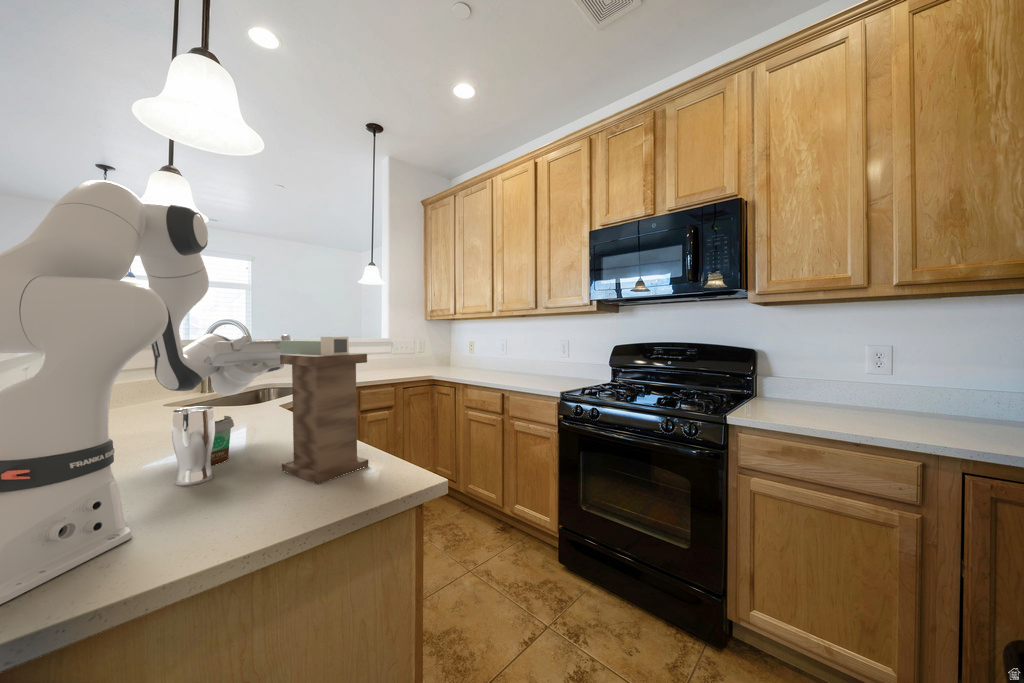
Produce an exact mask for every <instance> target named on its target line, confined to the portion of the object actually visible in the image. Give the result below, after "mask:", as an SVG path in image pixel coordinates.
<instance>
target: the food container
mask: <svg viewBox="0 0 1024 683" xmlns="http://www.w3.org/2000/svg"><path fill="white" fill-rule="evenodd" d="M234 427H235V423H234V419H232V417H231V416H229V415H224V416H223V419H220V420H216V421H215V436H214V442H213V447H212V453H211V467H214V466H217V465H216V464H218V465H220V464H219V463H221V464H223V463H225V462H227V461H228V460H229V457H230V456H229V453H230V443H231V442H230V441H231V433H232V432H231V429H232V428H234ZM227 459H228V460H227ZM226 460H227V461H226ZM224 461H225V462H224ZM222 462H223V463H222ZM213 465H214V466H213Z"/></svg>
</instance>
